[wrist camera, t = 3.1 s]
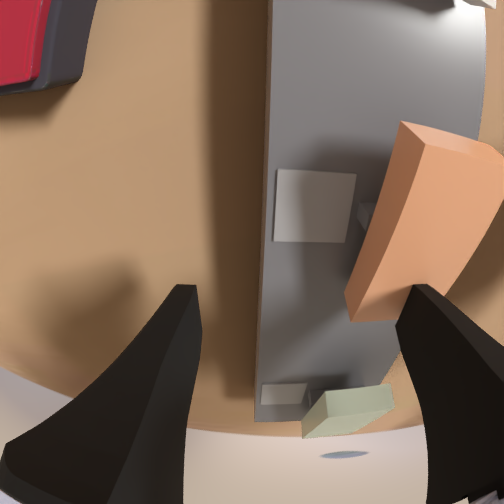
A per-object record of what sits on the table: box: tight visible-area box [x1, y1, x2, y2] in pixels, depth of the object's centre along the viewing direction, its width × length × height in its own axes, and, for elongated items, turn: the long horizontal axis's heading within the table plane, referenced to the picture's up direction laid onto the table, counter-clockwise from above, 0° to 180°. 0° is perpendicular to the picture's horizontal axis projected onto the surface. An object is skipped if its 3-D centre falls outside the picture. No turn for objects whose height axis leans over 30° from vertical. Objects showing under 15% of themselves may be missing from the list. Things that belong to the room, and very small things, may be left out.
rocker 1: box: [301, 383, 395, 439], centre depth 15 cm, size 4×7×1 cm, turn 179°
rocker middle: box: [344, 121, 504, 323], centre depth 8 cm, size 4×7×1 cm, turn 179°
